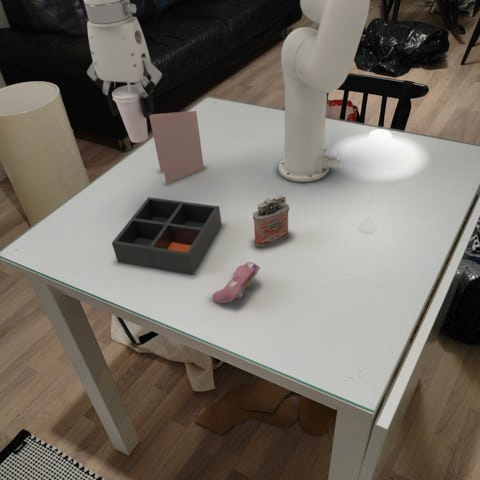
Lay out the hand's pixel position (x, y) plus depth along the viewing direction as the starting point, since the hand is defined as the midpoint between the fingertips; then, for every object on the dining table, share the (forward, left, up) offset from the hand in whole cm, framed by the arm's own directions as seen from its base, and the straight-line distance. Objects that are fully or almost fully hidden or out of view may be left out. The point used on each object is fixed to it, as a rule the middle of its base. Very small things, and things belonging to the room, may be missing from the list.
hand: (133, 112), depth 97 cm
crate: (-9, +11, -23) cm, 27 cm away
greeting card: (0, -16, -23) cm, 29 cm away
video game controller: (-28, +22, -24) cm, 42 cm away
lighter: (-30, +5, -23) cm, 38 cm away
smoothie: (0, 0, -6) cm, 6 cm away
